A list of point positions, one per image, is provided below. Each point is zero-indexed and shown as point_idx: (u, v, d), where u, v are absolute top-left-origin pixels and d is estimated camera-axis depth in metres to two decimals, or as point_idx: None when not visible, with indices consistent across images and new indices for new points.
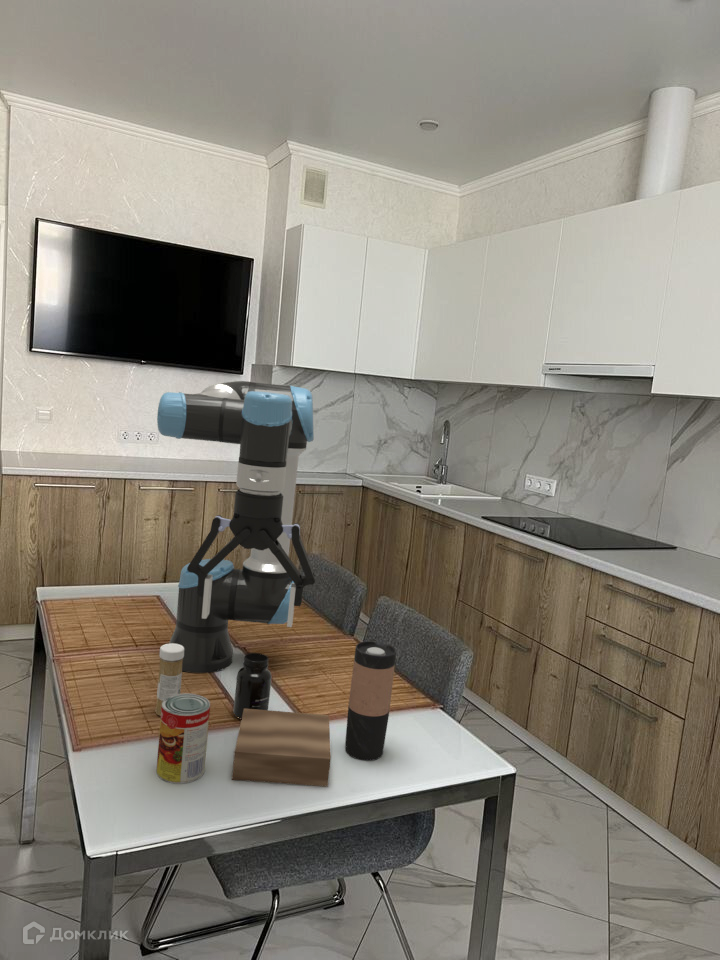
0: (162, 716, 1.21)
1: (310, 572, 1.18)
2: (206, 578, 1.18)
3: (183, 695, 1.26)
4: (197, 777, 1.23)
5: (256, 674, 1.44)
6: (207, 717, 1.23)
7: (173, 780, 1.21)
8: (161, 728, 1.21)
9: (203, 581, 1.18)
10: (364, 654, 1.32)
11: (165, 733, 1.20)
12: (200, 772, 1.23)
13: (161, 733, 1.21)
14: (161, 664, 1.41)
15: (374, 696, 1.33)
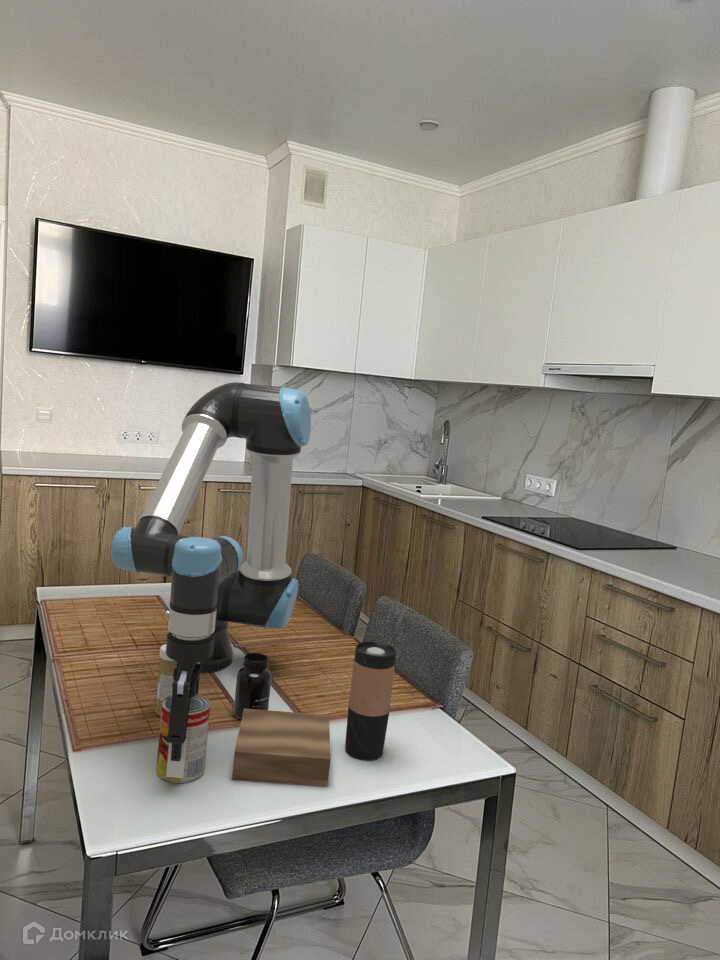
0: (162, 715, 1.21)
1: None
2: None
3: None
4: (197, 777, 1.23)
5: (256, 674, 1.44)
6: (207, 716, 1.23)
7: (173, 779, 1.21)
8: (161, 727, 1.22)
9: None
10: (364, 654, 1.32)
11: (165, 732, 1.21)
12: (200, 772, 1.23)
13: (161, 732, 1.21)
14: (161, 664, 1.41)
15: (374, 696, 1.33)
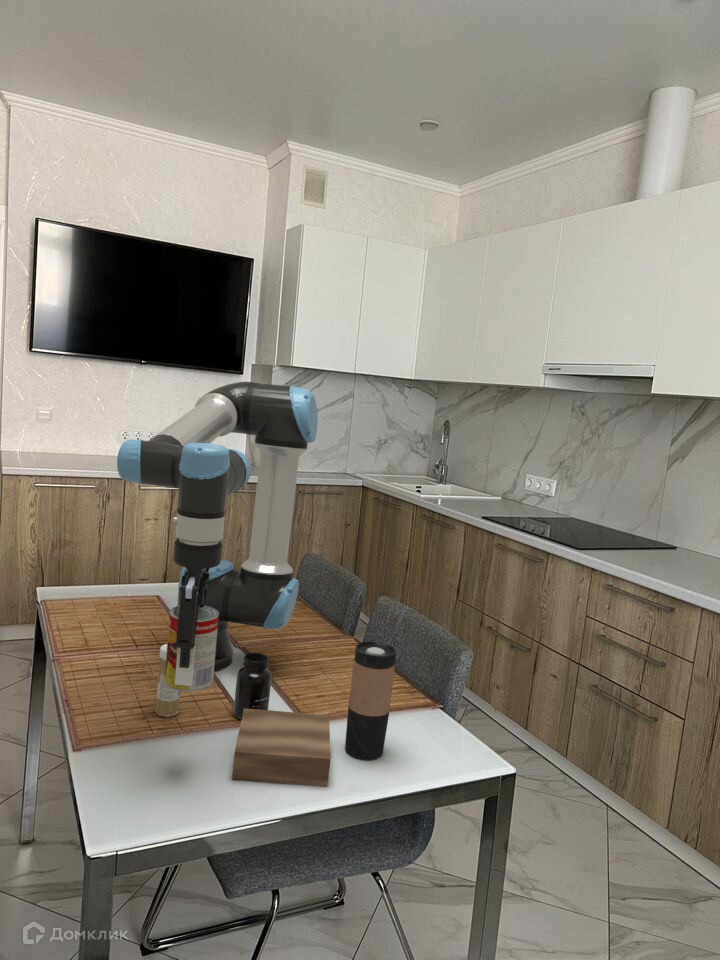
0: (170, 623, 1.19)
1: (177, 635, 1.14)
2: None
3: None
4: (206, 686, 1.21)
5: (256, 674, 1.44)
6: (216, 625, 1.21)
7: (182, 688, 1.19)
8: (169, 636, 1.20)
9: None
10: (364, 654, 1.32)
11: (173, 640, 1.19)
12: (209, 681, 1.22)
13: (169, 641, 1.20)
14: (161, 664, 1.41)
15: (374, 696, 1.33)
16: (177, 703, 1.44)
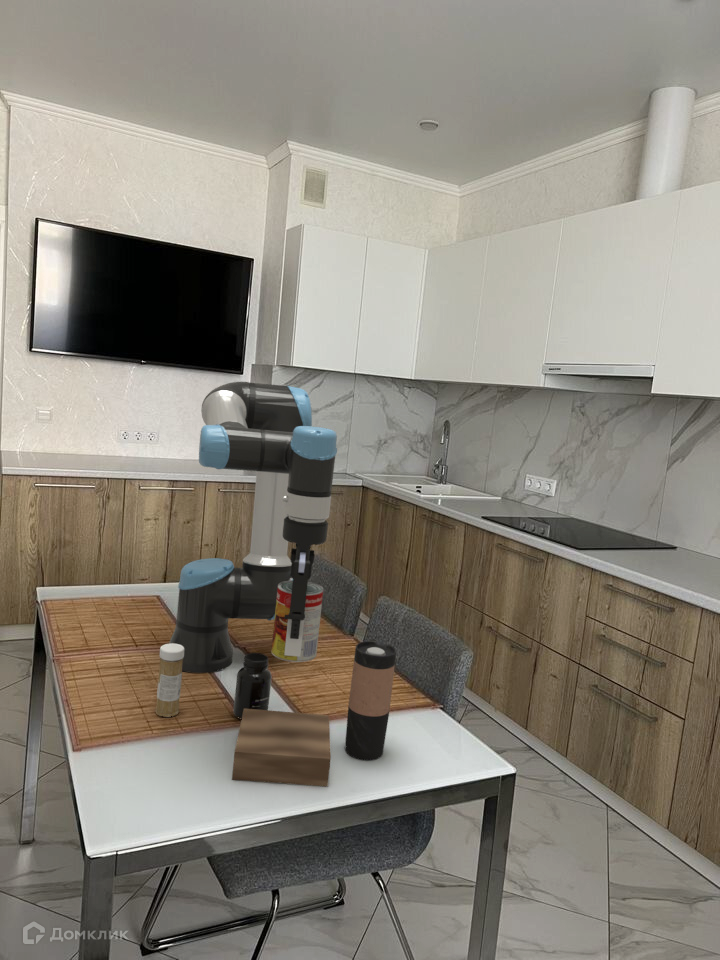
0: (279, 597, 1.26)
1: (290, 607, 1.21)
2: None
3: None
4: (311, 657, 1.27)
5: (256, 674, 1.44)
6: (321, 600, 1.27)
7: (290, 658, 1.26)
8: (278, 609, 1.26)
9: None
10: (364, 654, 1.32)
11: (283, 613, 1.25)
12: (314, 653, 1.28)
13: (278, 614, 1.26)
14: (161, 664, 1.41)
15: (374, 696, 1.33)
16: (177, 703, 1.44)
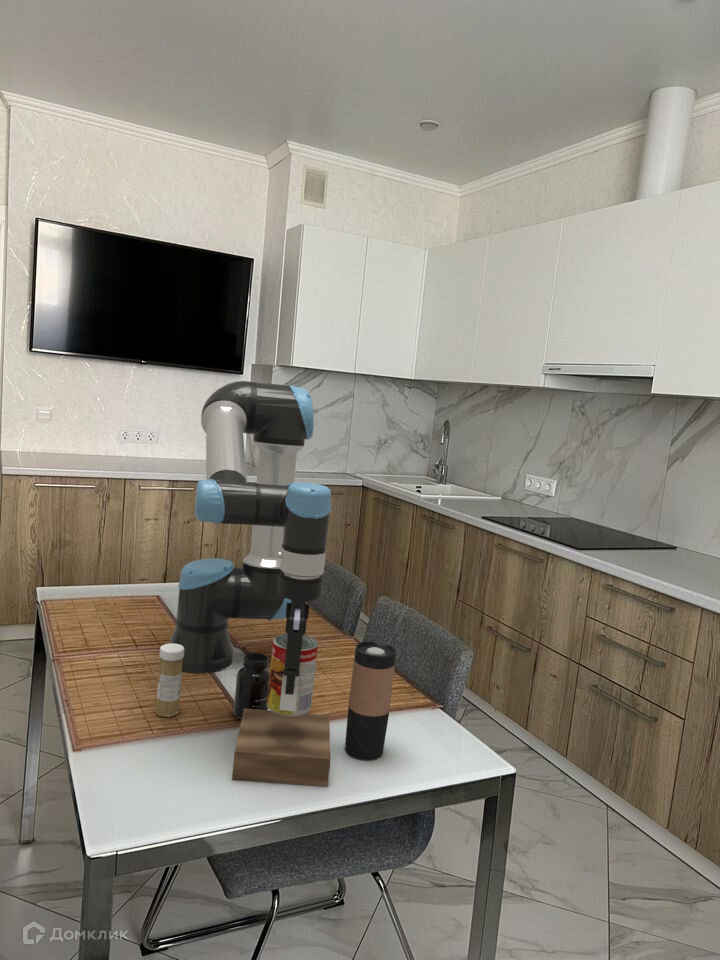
0: (274, 652, 1.27)
1: (285, 664, 1.22)
2: None
3: None
4: (306, 711, 1.29)
5: (256, 674, 1.44)
6: (316, 654, 1.29)
7: (285, 713, 1.27)
8: (273, 664, 1.27)
9: None
10: (364, 654, 1.32)
11: (278, 668, 1.27)
12: (309, 706, 1.29)
13: (273, 668, 1.27)
14: (161, 664, 1.41)
15: (374, 696, 1.33)
16: (177, 703, 1.44)
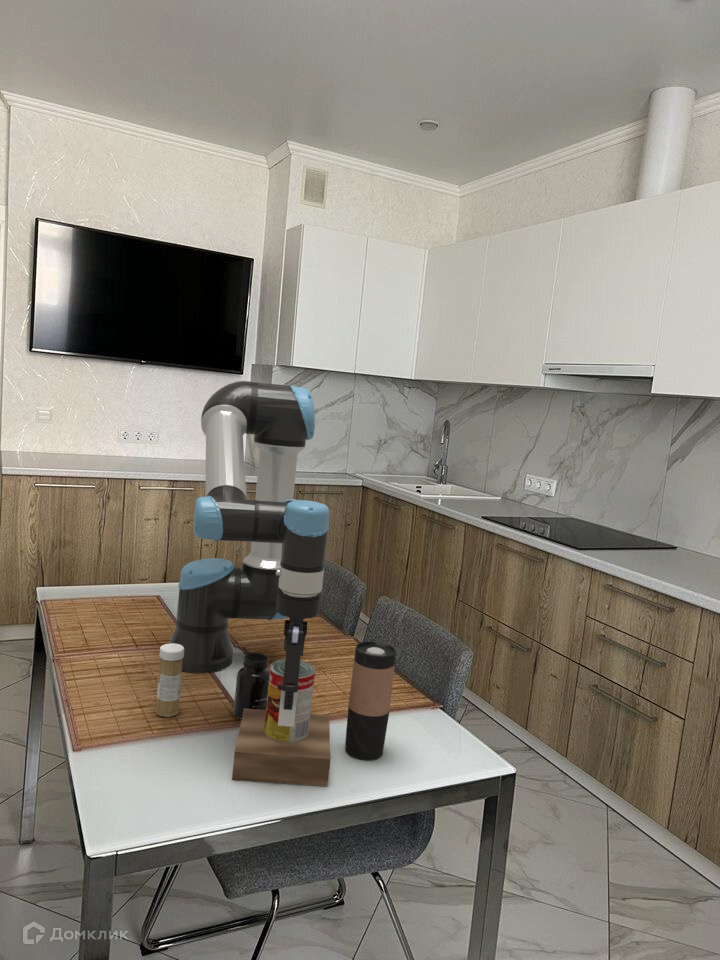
0: (271, 679, 1.28)
1: None
2: None
3: None
4: (303, 737, 1.29)
5: (256, 674, 1.44)
6: (313, 681, 1.29)
7: (282, 740, 1.28)
8: (270, 691, 1.28)
9: None
10: (364, 654, 1.32)
11: (275, 695, 1.27)
12: (306, 733, 1.30)
13: (270, 695, 1.28)
14: (161, 664, 1.41)
15: (374, 696, 1.33)
16: (177, 703, 1.44)
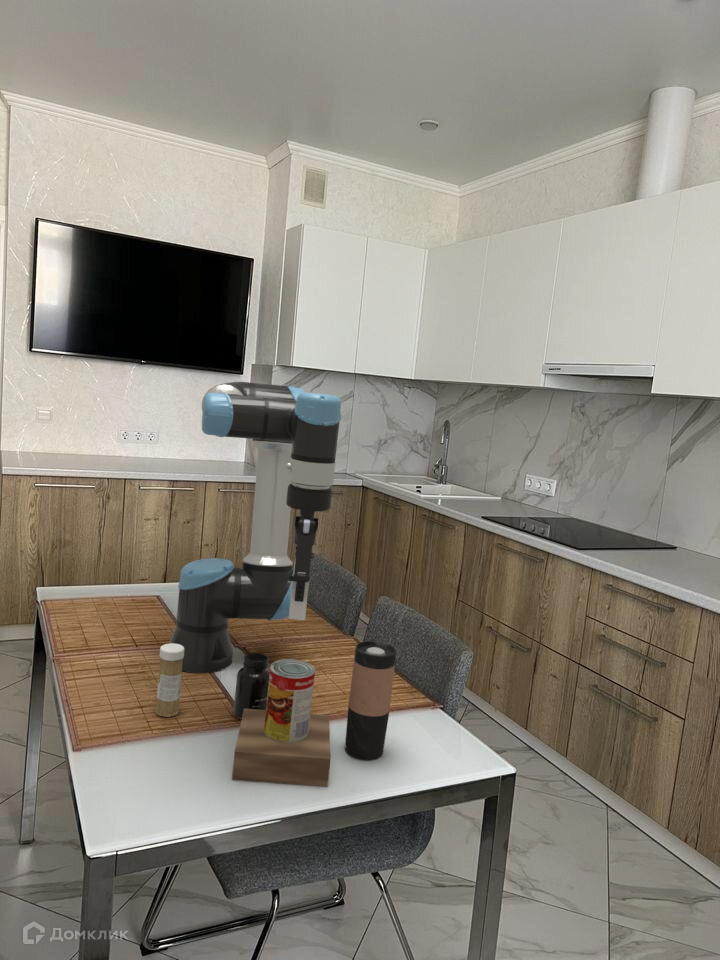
0: (271, 679, 1.28)
1: (294, 567, 1.18)
2: None
3: (287, 661, 1.33)
4: (303, 737, 1.29)
5: (256, 674, 1.44)
6: (313, 681, 1.29)
7: (282, 740, 1.28)
8: (270, 691, 1.28)
9: None
10: (364, 654, 1.32)
11: (275, 695, 1.27)
12: (306, 733, 1.30)
13: (270, 695, 1.28)
14: (161, 664, 1.41)
15: (374, 696, 1.33)
16: (177, 703, 1.44)
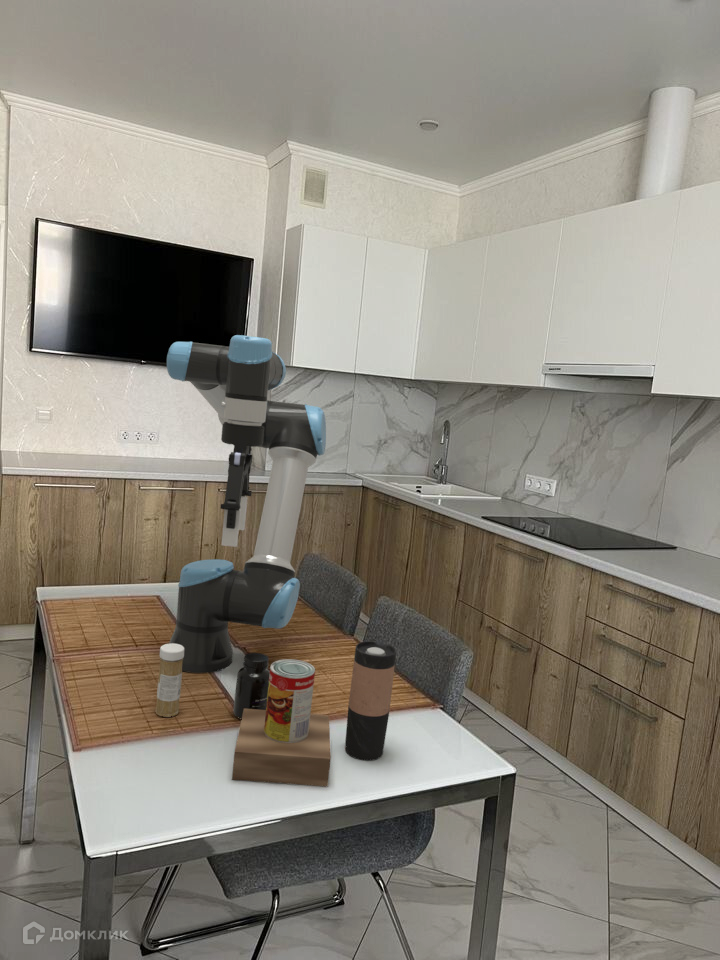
0: (271, 679, 1.28)
1: (225, 495, 1.27)
2: None
3: (287, 661, 1.33)
4: (303, 737, 1.29)
5: (256, 674, 1.44)
6: (313, 681, 1.29)
7: (282, 740, 1.28)
8: (270, 691, 1.28)
9: None
10: (364, 654, 1.32)
11: (275, 695, 1.27)
12: (306, 733, 1.30)
13: (270, 695, 1.28)
14: (161, 664, 1.41)
15: (374, 696, 1.33)
16: (177, 703, 1.44)
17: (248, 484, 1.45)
